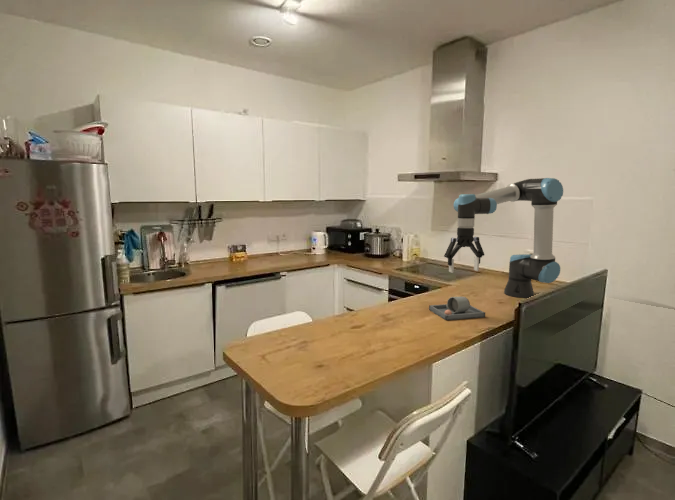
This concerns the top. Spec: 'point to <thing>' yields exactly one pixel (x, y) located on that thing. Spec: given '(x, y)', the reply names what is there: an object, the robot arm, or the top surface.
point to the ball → (448, 312)
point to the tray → (468, 314)
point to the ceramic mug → (458, 304)
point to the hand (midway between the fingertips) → (463, 271)
